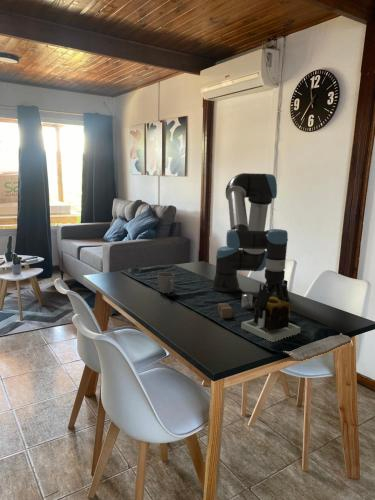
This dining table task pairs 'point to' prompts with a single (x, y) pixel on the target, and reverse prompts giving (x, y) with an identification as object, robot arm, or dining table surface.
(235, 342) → the dining table surface
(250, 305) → the grey tin
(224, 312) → the walnut block
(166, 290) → the mug
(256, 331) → the tray
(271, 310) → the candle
